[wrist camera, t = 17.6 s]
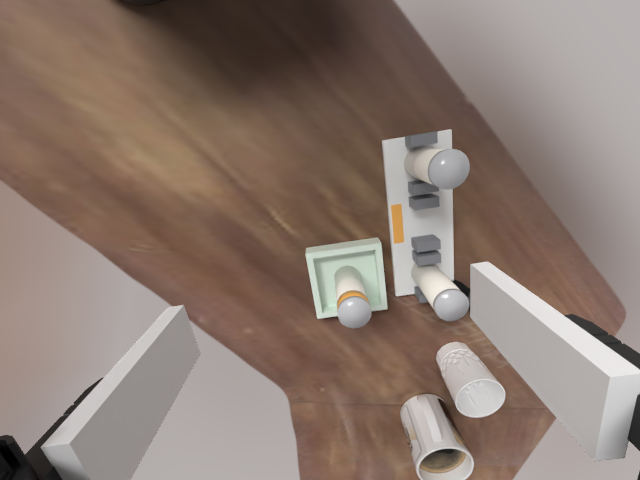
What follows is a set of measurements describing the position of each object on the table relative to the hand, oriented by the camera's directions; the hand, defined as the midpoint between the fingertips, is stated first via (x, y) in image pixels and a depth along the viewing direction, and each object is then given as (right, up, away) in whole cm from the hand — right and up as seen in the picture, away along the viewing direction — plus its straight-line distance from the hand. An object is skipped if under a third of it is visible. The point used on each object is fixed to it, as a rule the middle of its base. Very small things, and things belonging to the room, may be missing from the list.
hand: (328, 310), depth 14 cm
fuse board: (+16, +7, +34) cm, 38 cm away
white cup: (+25, -19, +43) cm, 53 cm away
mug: (+21, -31, +47) cm, 60 cm away
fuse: (+17, -2, +36) cm, 40 cm away
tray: (+4, -3, +38) cm, 38 cm away
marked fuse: (+4, -3, +37) cm, 37 cm away
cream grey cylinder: (+14, +15, +31) cm, 37 cm away
